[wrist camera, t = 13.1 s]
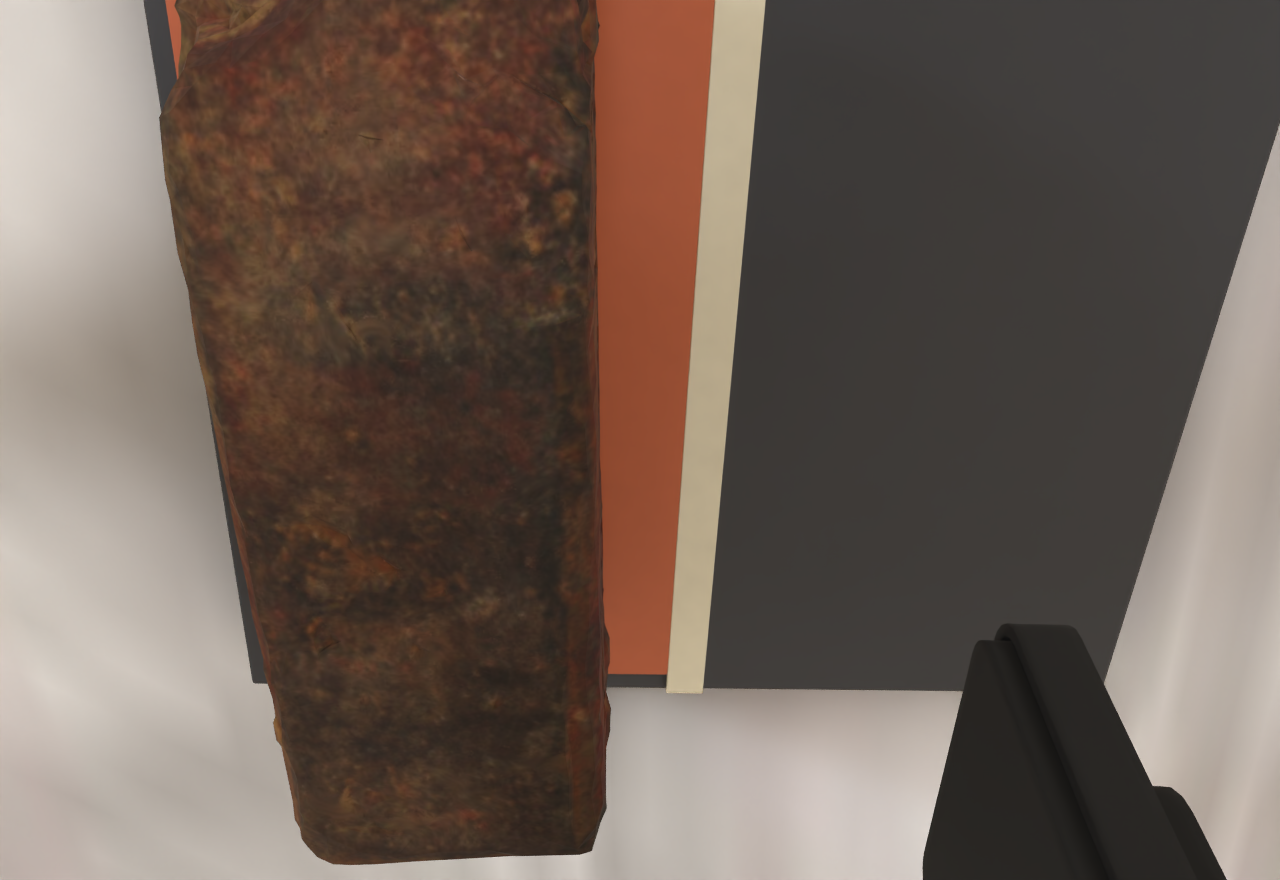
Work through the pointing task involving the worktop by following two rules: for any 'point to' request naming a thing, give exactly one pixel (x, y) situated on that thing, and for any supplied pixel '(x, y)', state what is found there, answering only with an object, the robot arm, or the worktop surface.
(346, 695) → the brick
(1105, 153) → the board
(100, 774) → the worktop surface
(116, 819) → the worktop surface
